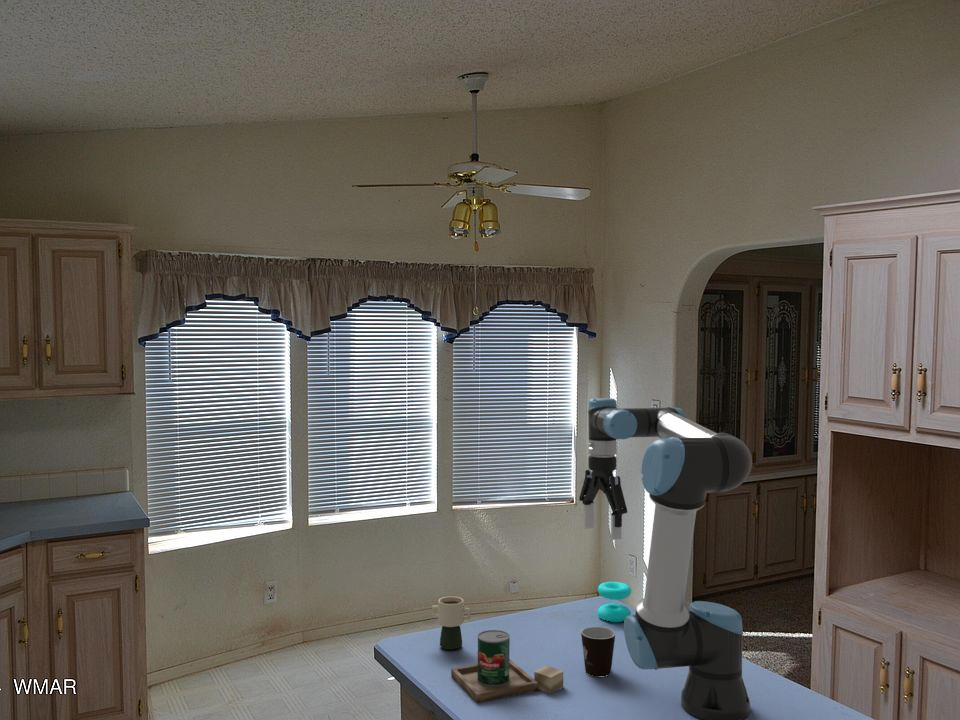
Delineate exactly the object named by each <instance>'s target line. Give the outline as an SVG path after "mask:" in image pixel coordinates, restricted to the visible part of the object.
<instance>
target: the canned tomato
mask: <svg viewBox="0 0 960 720" xmlns="http://www.w3.org/2000/svg"><path fill="white" fill-rule="evenodd" d="M510 638H511V636H510V634H509V633H508V632H507V631H504V630H501V629H500V630H499V629H490V630H489V629H488V630H484V631H481V632H479V633H478V634H477V664H478V672H477V674H478V678H477V681H478V683H480V684H481V685H484V686H488V687H499V686H503V685H506V684H507V683H508V682H509V659H510V644H511V643H510V642H511V641H510Z"/></svg>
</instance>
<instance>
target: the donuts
mask: <svg viewBox="0 0 960 720" xmlns="http://www.w3.org/2000/svg"><path fill="white" fill-rule="evenodd" d="M597 592H598V594H599V595H600V596H601V597H602V598H604V599H607V600H611V601H621V600H625V599H627V598H629V597H630V596H631V593H632V588H631V587H630V586H629V585H628V584H626V583H624V582H620V581H606V582H605V581H604V582H602V583H600V584H599V585H598V586H597ZM597 615H598V617H599V618H600V619H601V620H602V621H605V620H606V621H605V622H608V621H610V622H609V623H624V622H623V621H625V618H626V617H627V616H630V615H632V612H631V610H630V608H629V607H627V606H626V605H623V604H620V603H615V602H614V603H612V602H611V603H606V604H603V605H601V606H600V607H598V610H597Z"/></svg>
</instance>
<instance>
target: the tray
mask: <svg viewBox="0 0 960 720" xmlns="http://www.w3.org/2000/svg"><path fill="white" fill-rule="evenodd" d="M450 669H451V673H450V675H451V678H452V679H453V680H454V681H455V682H456V683H457V684H458V685H459V686H460V687H461V689H463V690H464V692H466V694H467V695H468V696H469V697H470V698H471V699H473V701H474V702H475V703H476V704H478V703H479V704H480V703H484V702H488V701H493V700H498V699H503V698H504V699H505V698H508V697H513V696H520V695H524V694H530V693H534V692H538V691H539V689H538V682H537V681H535V680H534V677H532V676H530V675H529V674H528V672H526V671H524V669H522V668H521V667H520V666H519V665H517V663H515V662H514V661H513V660H511V659H510V658H509V682H508V683H507V684H506V685H503V686H499V687H488V686H484V685H481V684H480V683H478V681H477V678H478V674H477V672H478V663H477V664H475V663H474V664H470V665H465V666H459V667H453V668H450Z"/></svg>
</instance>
